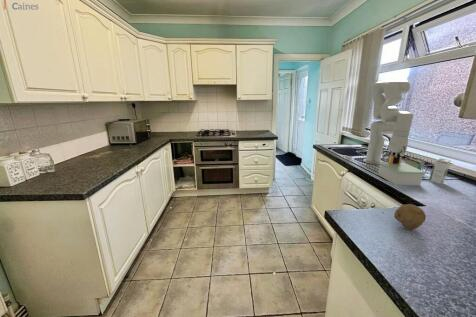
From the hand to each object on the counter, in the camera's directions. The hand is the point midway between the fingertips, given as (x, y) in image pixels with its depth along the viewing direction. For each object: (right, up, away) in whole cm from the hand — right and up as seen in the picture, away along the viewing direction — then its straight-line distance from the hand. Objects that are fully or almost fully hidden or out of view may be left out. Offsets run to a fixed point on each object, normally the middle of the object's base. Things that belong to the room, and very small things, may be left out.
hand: (394, 162), depth 130 cm
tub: (0, -11, -3) cm, 12 cm away
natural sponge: (-31, -25, -48) cm, 62 cm away
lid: (0, -4, -5) cm, 7 cm away
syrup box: (+20, -12, -6) cm, 24 cm away
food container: (+20, -8, +9) cm, 23 cm away
